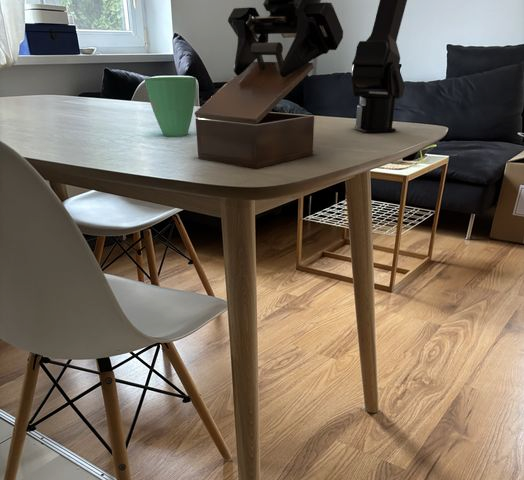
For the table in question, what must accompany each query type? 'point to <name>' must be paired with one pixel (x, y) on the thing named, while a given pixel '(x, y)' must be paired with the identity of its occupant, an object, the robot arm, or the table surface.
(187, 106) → the mug
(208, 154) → the keepsake box
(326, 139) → the table surface
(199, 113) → the lid
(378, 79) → the robot arm
